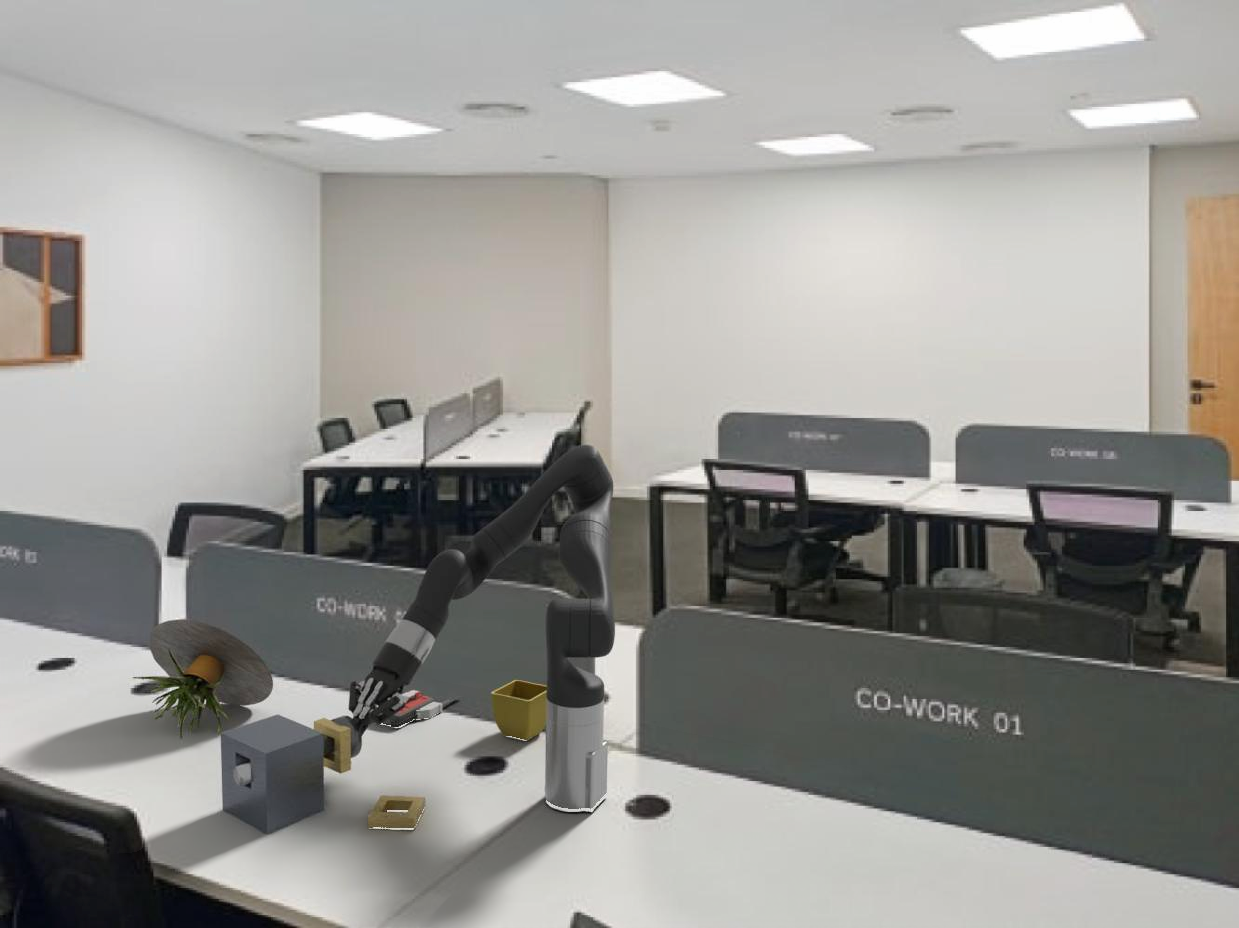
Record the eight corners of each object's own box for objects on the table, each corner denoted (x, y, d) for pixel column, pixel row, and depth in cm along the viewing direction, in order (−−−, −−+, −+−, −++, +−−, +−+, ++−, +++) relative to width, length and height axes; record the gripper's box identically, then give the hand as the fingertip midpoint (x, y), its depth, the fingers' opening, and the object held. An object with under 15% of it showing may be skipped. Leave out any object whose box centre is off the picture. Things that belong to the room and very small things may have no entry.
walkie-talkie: (403, 735, 184) (465, 702, 202) (403, 712, 183) (465, 681, 201) (367, 726, 188) (430, 694, 206) (366, 704, 187) (430, 674, 205)
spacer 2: (425, 809, 154) (425, 797, 154) (413, 831, 147) (413, 818, 147) (380, 807, 155) (380, 795, 154) (367, 829, 148) (367, 816, 147)
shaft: (335, 750, 166) (335, 710, 165) (362, 762, 162) (361, 721, 161) (226, 791, 150) (225, 747, 149) (252, 805, 146) (251, 760, 145)
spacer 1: (324, 758, 164) (323, 717, 163) (350, 769, 160) (350, 728, 159) (314, 761, 162) (313, 721, 162) (340, 773, 158) (340, 732, 157)
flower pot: (489, 738, 182) (489, 692, 181) (515, 723, 190) (515, 678, 189) (528, 748, 178) (529, 701, 177) (554, 732, 186) (554, 686, 185)
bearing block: (279, 787, 160) (277, 714, 159) (324, 809, 153) (323, 733, 152) (222, 809, 153) (220, 732, 151) (267, 834, 145) (265, 753, 144)
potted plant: (136, 748, 191) (78, 686, 173) (186, 671, 202) (136, 604, 184) (249, 780, 186) (201, 718, 167) (294, 698, 197) (253, 632, 178)
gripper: (441, 670, 171) (386, 761, 163) (392, 654, 179) (338, 740, 171) (417, 648, 166) (359, 741, 158) (368, 633, 174) (310, 720, 166)
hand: (348, 740), depth 164 cm, fingers closed
